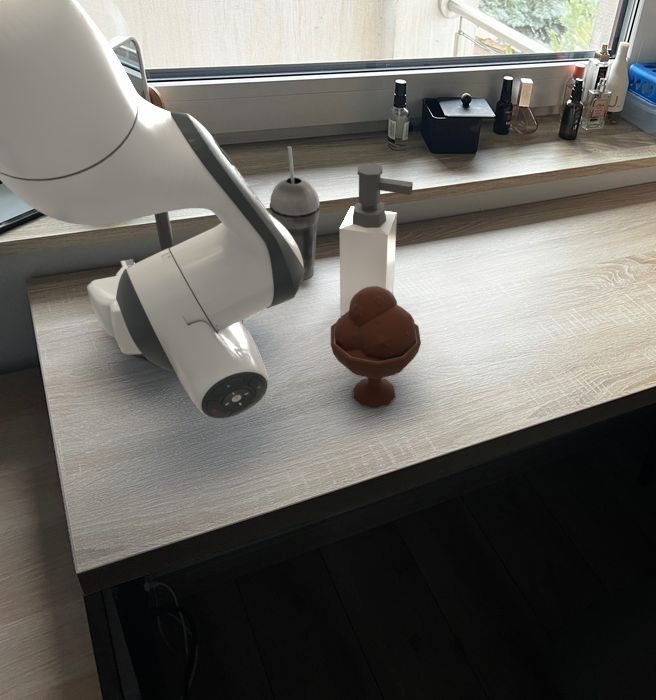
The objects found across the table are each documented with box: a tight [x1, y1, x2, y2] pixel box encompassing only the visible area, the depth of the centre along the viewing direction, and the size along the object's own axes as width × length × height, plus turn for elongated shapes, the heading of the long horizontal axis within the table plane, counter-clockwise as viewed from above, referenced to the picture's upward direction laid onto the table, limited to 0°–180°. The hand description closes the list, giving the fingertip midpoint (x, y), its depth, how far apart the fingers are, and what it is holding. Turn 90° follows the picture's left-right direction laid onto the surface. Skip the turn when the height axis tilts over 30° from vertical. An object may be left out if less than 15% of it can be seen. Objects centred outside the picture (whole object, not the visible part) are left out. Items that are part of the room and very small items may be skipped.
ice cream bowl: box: [330, 286, 422, 409], centre depth 88 cm, size 11×11×15 cm
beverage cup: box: [269, 146, 322, 281], centre depth 106 cm, size 7×7×20 cm
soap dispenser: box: [339, 162, 414, 317], centre depth 100 cm, size 6×9×22 cm
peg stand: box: [154, 211, 175, 252], centre depth 93 cm, size 6×6×18 cm
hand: (166, 257), depth 93 cm, fingers open, 8 cm apart
